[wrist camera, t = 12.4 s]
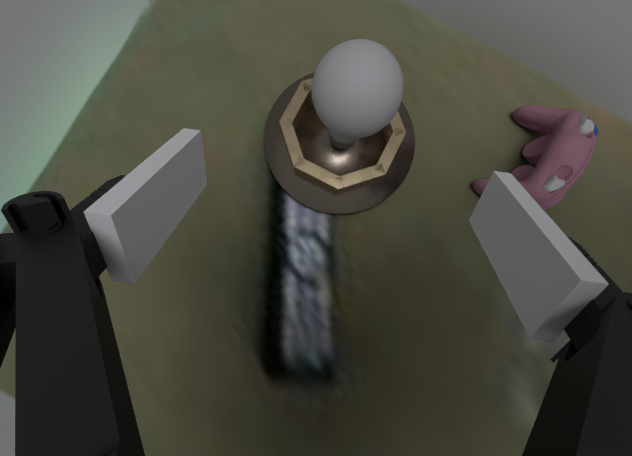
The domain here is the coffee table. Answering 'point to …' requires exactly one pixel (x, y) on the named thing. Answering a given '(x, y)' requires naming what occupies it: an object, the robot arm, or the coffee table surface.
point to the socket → (334, 156)
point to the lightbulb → (356, 90)
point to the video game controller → (552, 152)
